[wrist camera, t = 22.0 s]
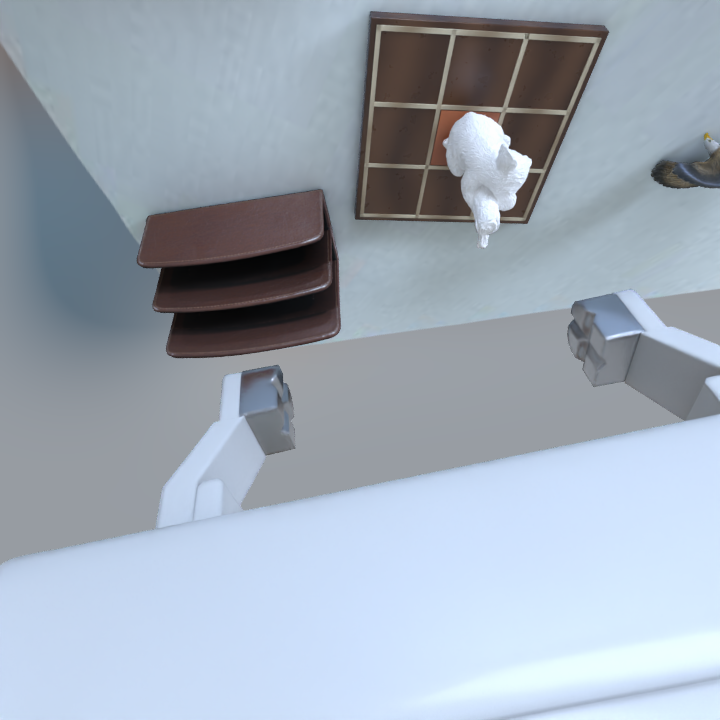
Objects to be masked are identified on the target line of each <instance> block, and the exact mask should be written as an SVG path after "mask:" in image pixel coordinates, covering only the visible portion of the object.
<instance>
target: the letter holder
mask: <svg viewBox="0 0 720 720" xmlns="http://www.w3.org/2000/svg"><path fill="white" fill-rule="evenodd" d="M137 263H138V265H140V266H142V267H143V268H161V272H160V277H159V281H158V285H157V289H156V293H155V297H154V300H153V309H154V311H157V312H160V313H174V318H173V322H172V325H171V330H170V334H169V337H168V341H167V346H166V352H167V354H168V355H169V356H172V357H174V358H207V357H223V356H234V355H243V354H250V353H257V352H264V351H270V350H276V349H282V348H287V347H293V346H298V345H303V344H308V343H312V342H317V341H321V340H325V339H329V338H332V337H334V336H336V335H337V334H338V333H339V331H340V329H341V318H340V297H339V258H338V253H337V249H336V244H335V240H334V235H333V231H332V227H331V223H330V218H329V214H328V210H327V206H326V202H325V198H324V194H323V190H315V191H307V192H301V193H297V194H296V193H294V194H288V195H282V196H275V197H268V198H262V199H255V200H248V201H241V202H235V203H228V204H220V205H216V206H209V207H203V208H202V207H200V208H196V209H189V210H182V211H176V212H170V213H164V214H157V215H151V216H148V217H147V220H146V226H145V229H144V233H143V237H142V241H141V245H140V249H139V253H138V256H137Z"/></svg>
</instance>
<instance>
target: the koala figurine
mask: <svg viewBox="0 0 720 720" xmlns="http://www.w3.org/2000/svg"><path fill="white" fill-rule="evenodd" d="M510 141H511V139H510V137H509V136H507V135H504V132H503V130H502V127H501V126H500V125H498V123H496V122H494V120H493V119H491V118H488V117H486V116H485V115H482V114H476V113H474V112H469V113H466V114H465V115H464V116H463V117H462V118H461V119H460V120H457V121H456V122H455V124H454V125H453V127H452V128H451V131H450V134H449V137H448V138H447V139H445V140H444V141H443V146H444V147H445V148H446V149H447V151H446V158H447V165H448V167H449V169H450V171H451V173H452V174H453V175H455V176H457V177H458V176H462V175H463V177H462V180H461V191H462V195H463V198H464V199H465V201H466V202H467V204H468V206H469V207H470V208H471V210H472V212H473V214H474V219H475V228H476V231H477V233H478V234H479V236H478V243H477V248H483V249H484V248H486V247H487V246H488V245H487V244H488V238H489V235H490V234H492V233H494V232H495V231H497V230H498V229H499V224H500V213H499V210H502V211H507V210H510V209H512V208H513V207H514V205H515V203H516V198H517V197H516V194H515V193H516V192H517V191H518V189H520V188H521V186H522V185H523V184H524V182H525V180H526V178H527V176H528V172H529V169H530V166H531V164H532V160H531V159H530V158H528V156H526V155H525V156H522V155H521V154H520V153H518V152H516V151H515V150H511V149H509V145H510Z"/></svg>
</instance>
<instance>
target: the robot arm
mask: <svg viewBox="0 0 720 720" xmlns="http://www.w3.org/2000/svg"><path fill="white" fill-rule="evenodd" d="M571 314H572V315H573V317H574V320H573V321H572V322H571V323H570V324H569V326H568V333H567V335H568V343H569V346H570V349H571V351H572V353H573V354H574V356H575V358H577V359H579V360H581V361H583V362H584V364H583V371H584V373H585V374H586V376H587V377H588V379H589V381H590V382H591V384H592V385H593V387H596V386H602V385H607V384H613V383H618V382H624V381H625V383H626V384H627V385H629V386H631V387H632V388H634V389H635V390H637V391H638V392H640V393H642V394H643V395H645V396H646V397H648V398H650V399H651V400H653V401H654V402H656V403H657V404H659V405H660V406H662V407H664V408H665V409H667V410H668V411H670V412H672V413H673V414H675V415H676V416H678V417H679V418H681V419H683V420H684V421H683V422H678V423H673V424H668V425H663V426H659V427H654V428H649V429H644V430H639V431H634V432H629V433H624V434H619V435H615V436H609V437H604V438H599V439H594V440H589V441H585V442H580V443H575V444H570V445H565V446H561V447H555V448H550V449H545V450H541V451H536V452H531V453H526V454H521V455H516V456H511V457H506V458H502V459H496V460H492V461H487V462H482V463H477V464H472V465H467V466H462V467H457V468H452V469H447V470H443V471H437V472H432V473H428V474H423V475H418V476H413V477H408V478H403V479H398V480H393V481H388V482H383V483H378V484H374V485H369V486H364V487H359V488H354V489H349V490H345V491H340V492H334V493H329V494H325V495H320V496H315V497H310V498H305V499H300V500H295V501H290V502H286V503H280V504H275V505H270V506H266V507H261V508H256V509H251V510H246V511H243V509H242V508H241V506H240V505H241V503H242V501H243V499H244V497H245V496H246V494H247V492H248V490H249V488H250V486H251V485H252V483H253V481H254V479H255V477H256V475H257V473H258V471H259V470H260V468H261V466H262V464H263V462H264V461H265V459H266V455H270V454H274V453H279V452H283V451H287V450H291V449H295V429H294V427H293V424H292V422H291V420H292V418H293V417H294V408H293V402H292V397H291V393H290V390H289V388H288V385H287V384H286V383H284V382H283V373H282V371H281V369H280V366H279V365H274V366H268V367H263V368H258V369H252V370H248V371H243V372H239V373H233V374H228V375H225V376H224V378H223V381H222V391H221V402H220V413H219V421H218V422H214V423H213V424H212V425H211V427H210V428H209V429H208V430H207V432H206V433H205V434H204V436H203V437H202V438H201V439H200V441H199V442H198V443H197V444H196V446H195V447H194V448H193V450H192V451H191V452H190V453H189V455H188V456H187V457H186V459H185V460H184V461H183V462H182V464H181V465H180V466H179V468H178V469H177V470H176V471H175V473H174V474H173V475H172V476H171V478H170V479H169V480H168V482H167V483H166V484H165V485H164V487H163V488H162V493H161V498H160V504H159V510H158V515H157V521H156V528H155V529H153V530H148V531H143V532H138V533H134V534H129V535H124V536H119V537H114V538H109V539H104V540H99V541H94V542H89V543H84V544H80V545H75V546H70V547H65V548H60V549H55V550H49V551H44V552H38V553H33V554H28V555H24V556H20V557H16V558H12V559H10V560H8V561H6V562H4V563H3V564H1V565H0V720H720V346H719V345H717V344H715V343H712V342H710V341H707V340H705V339H702V338H700V337H697V336H695V335H692V334H690V333H687V332H685V331H682V330H680V329H678V328H675V327H666V326H665V325H664V323H663V322H662V321H661V320H660V319H659V318H658V316H657V315H656V314H655V313H654V312H653V311H652V310H651V308H650V307H649V306H648V305H647V304H646V303H645V301H644V300H643V299H642V298H641V297H640V296H639V294H638V293H637V292H636V291H635V290H632V289H629V290H624V291H620V292H616V293H612V294H607V295H602V296H598V297H593V298H589V299H584V300H580V301H575V302H574V304H573V305H572V309H571Z"/></svg>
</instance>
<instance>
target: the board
mask: <svg viewBox="0 0 720 720" xmlns="http://www.w3.org/2000/svg"><path fill="white" fill-rule="evenodd" d="M608 33H609V31H608V30H607V28H606V27H605V26H600V25H583V24H567V23H551V22H535V21H518V20H502V19H486V18H470V17H453V16H437V15H421V14H405V13H388V12H372V11H371V12H370V20H369V33H368V46H367V59H366V72H365V85H364V99H363V112H362V125H361V138H360V151H359V164H358V177H357V190H356V203H355V219H357V220H397V221H437V222H475V219H474V214H473V212H472V210H471V208H470V207H469V206H468V204H467V202H466V201H465V199H464V198H463V195H462V191H461V180H462V177H463V175H462V176H458V177H457V176H455V175H453V174H452V173H451V171H450V169H449V167H448V165H447V158H446V151H447V149H446V148H445V147H444V146H443V141H444V140H445V139H447V138H448V137H449V134H450V131H451V128H452V127H453V125H454V124H455V122H456V121H457V120H460V119H461V118H462V117H463V116H464V115H465V114H466V113H469V112H474V113H476V114H482V115H485V116H486V117H488V118H491V119H493V120H494V122H496V123H498V125H500V126H501V127H502V130H503V132H504V135H507V136H509V137H510V139H511V141H510V145H509V149H511V150H515V151H516V152H518V153H520V154H521V155H522V156H525V155H526V156H528V158H530V159H531V160H532V164H531V166H530V169H529V172H528V176H527V178H526V180H525V182H524V184H523V185H522V186H521V188H520V189H518V191H517V192H516V193H515V194H516V197H517V198H516V203H515V205H514V207H513V208H512V209H510V210H507V211H502V210H499V213H500V223H518V224H527V223H528V221H529V219H530V216H531V214H532V212H533V209H534V207H535V205H536V202H537V200H538V198H539V195H540V193H541V191H542V188H543V186H544V184H545V181H546V179H547V176H548V174H549V172H550V169H551V167H552V165H553V162H554V160H555V158H556V155H557V153H558V151H559V148H560V146H561V144H562V141H563V139H564V137H565V134H566V132H567V130H568V127H569V125H570V122H571V120H572V118H573V115H574V113H575V111H576V108H577V106H578V104H579V101H580V99H581V97H582V94H583V92H584V90H585V87H586V85H587V83H588V80H589V78H590V75H591V73H592V71H593V68H594V66H595V64H596V61H597V59H598V57H599V54H600V52H601V50H602V47H603V45H604V43H605V40H606V38H607V36H608Z"/></svg>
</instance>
